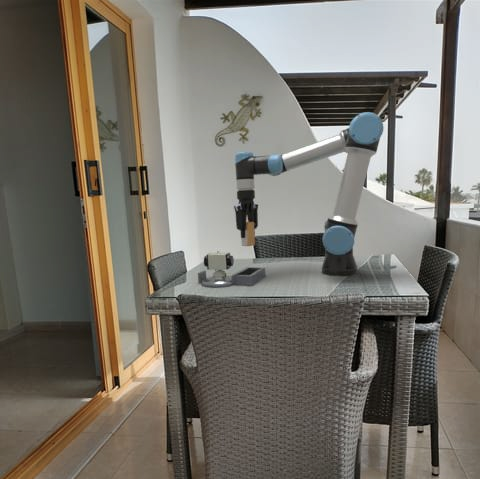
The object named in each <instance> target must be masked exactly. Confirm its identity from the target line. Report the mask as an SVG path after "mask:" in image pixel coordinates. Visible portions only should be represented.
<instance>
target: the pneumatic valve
mask: <svg viewBox="0 0 480 479" xmlns="http://www.w3.org/2000/svg"><path fill="white" fill-rule="evenodd" d="M234 260H235V259H234V255H231V252H220V250H217V251H216V252H209V253H207V254H206V255H205V256H204V257H203V265H204V267H206V268H207V270H208V271H210V270H214V272H213V273H212V276H213V278H214V280H223V279H224V278H226V276H227V272H226V271H225V270H229V269H230V268H232V267H233V266H234V264H235V263H234ZM207 270H206V271H207Z"/></svg>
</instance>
